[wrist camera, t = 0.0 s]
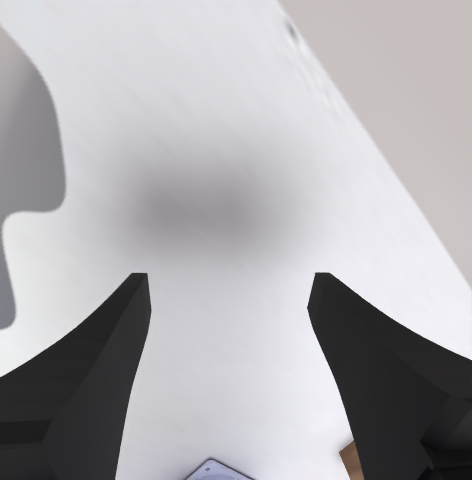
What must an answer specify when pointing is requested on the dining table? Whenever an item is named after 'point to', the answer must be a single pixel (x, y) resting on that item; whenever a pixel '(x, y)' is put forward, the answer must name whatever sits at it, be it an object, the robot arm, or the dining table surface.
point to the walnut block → (352, 462)
